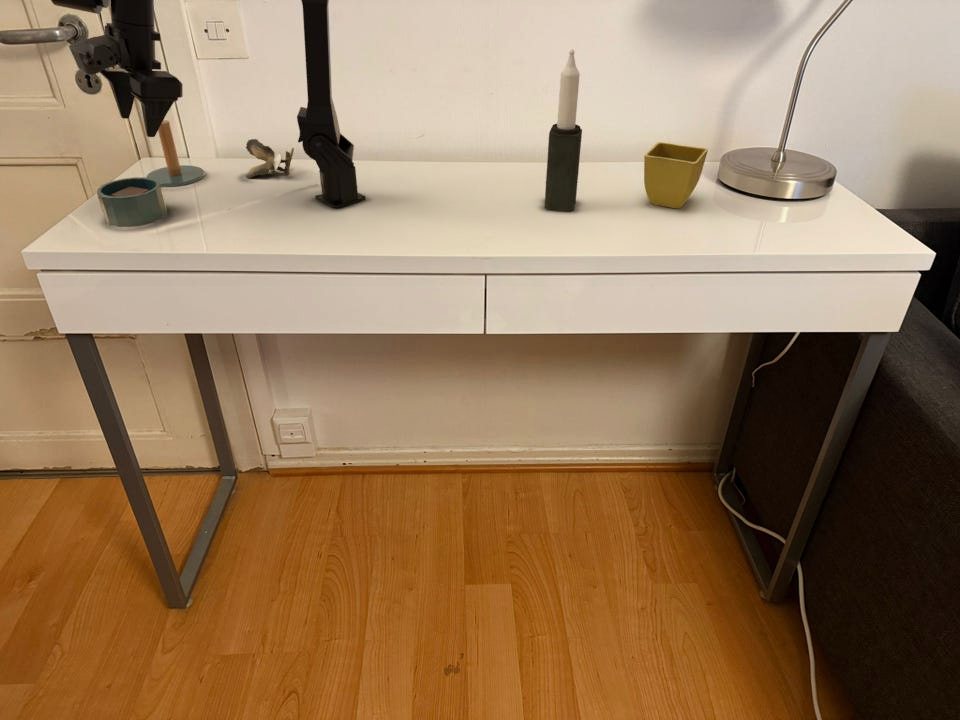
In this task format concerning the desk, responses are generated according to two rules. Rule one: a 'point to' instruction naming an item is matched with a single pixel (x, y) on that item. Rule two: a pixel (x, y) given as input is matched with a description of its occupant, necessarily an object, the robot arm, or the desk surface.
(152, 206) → the pot
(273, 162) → the eagle figurine
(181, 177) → the lid
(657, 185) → the flower pot
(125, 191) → the block
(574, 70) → the candle
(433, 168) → the desk surface
